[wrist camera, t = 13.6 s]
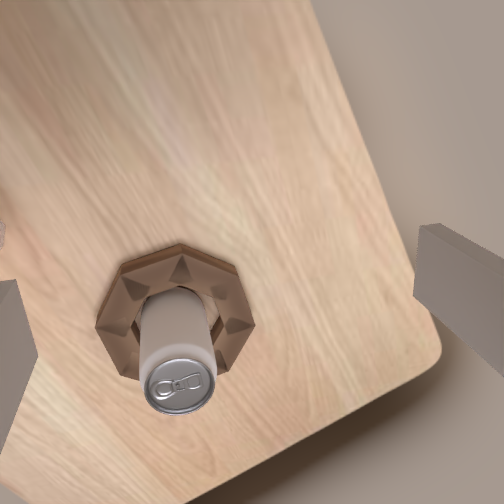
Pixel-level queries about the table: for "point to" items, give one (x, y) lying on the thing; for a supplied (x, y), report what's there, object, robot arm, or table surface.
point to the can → (176, 353)
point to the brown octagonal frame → (163, 278)
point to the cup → (2, 233)
